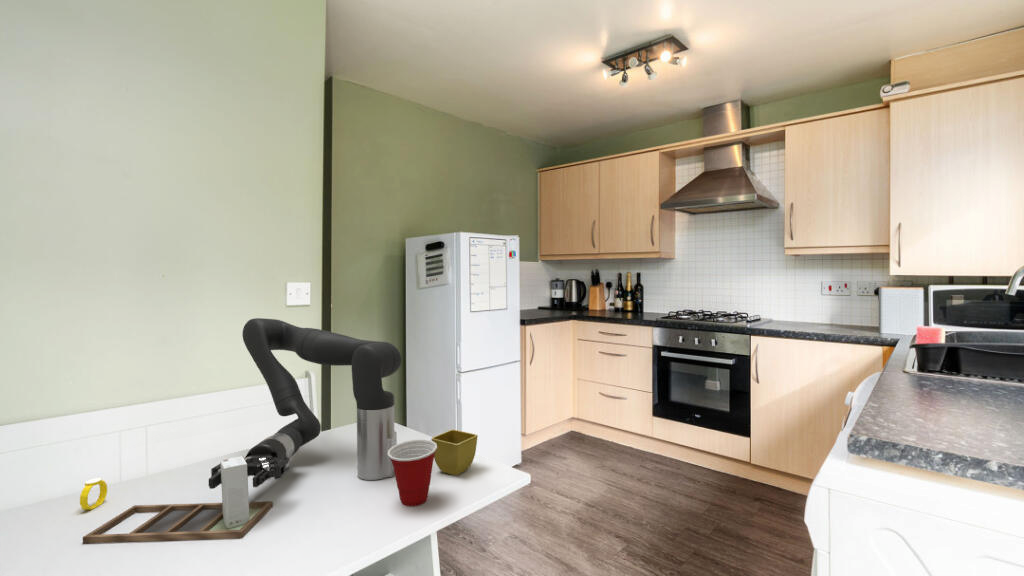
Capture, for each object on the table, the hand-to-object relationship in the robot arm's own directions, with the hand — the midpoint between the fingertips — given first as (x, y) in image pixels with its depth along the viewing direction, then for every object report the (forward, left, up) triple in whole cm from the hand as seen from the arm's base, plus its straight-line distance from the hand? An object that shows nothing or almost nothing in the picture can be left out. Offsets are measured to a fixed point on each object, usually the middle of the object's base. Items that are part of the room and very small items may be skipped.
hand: (232, 483), depth 93 cm
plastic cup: (-34, -8, -9) cm, 36 cm away
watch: (+36, -10, -9) cm, 38 cm away
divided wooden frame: (+10, -1, -9) cm, 13 cm away
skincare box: (+1, -2, -9) cm, 9 cm away
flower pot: (-42, -24, -9) cm, 50 cm away
